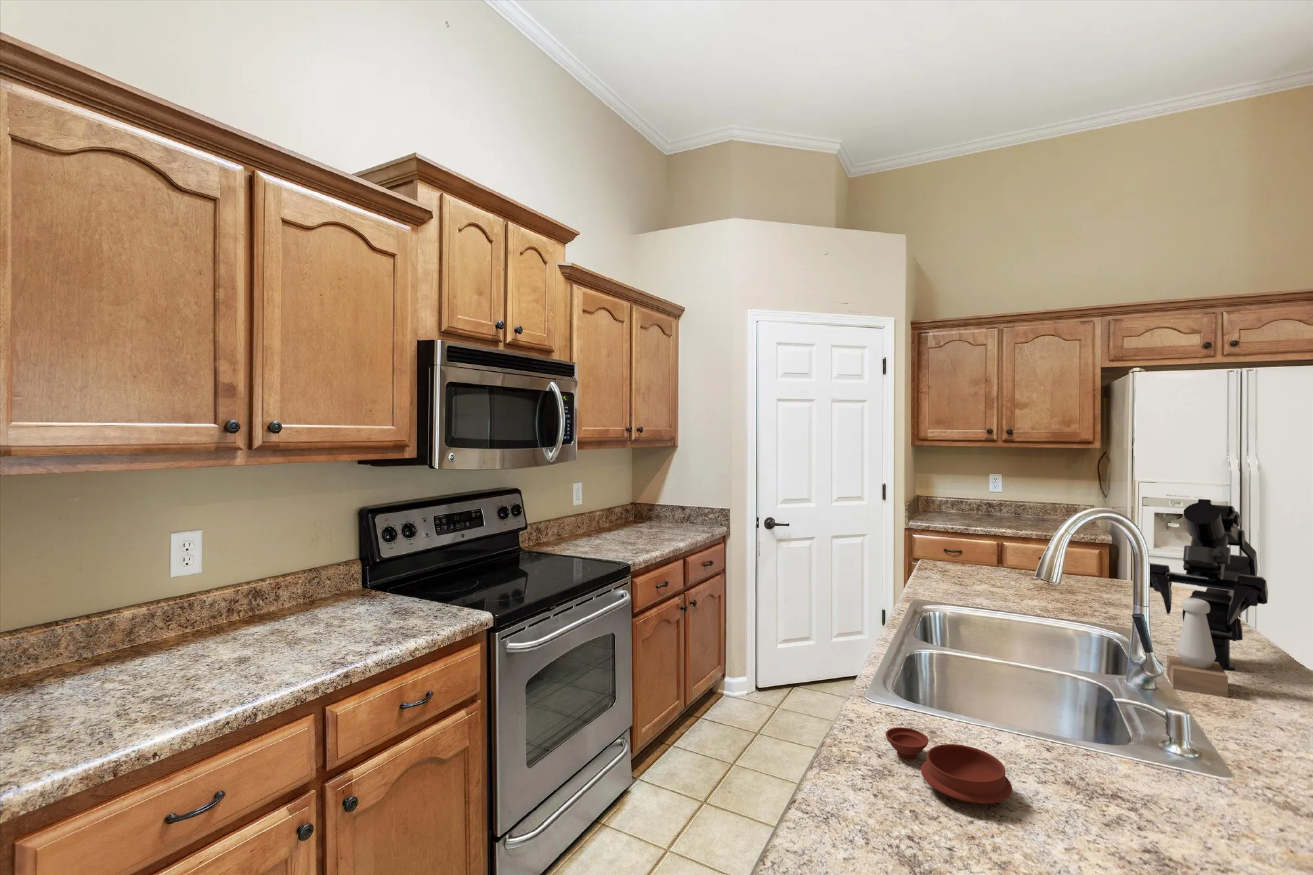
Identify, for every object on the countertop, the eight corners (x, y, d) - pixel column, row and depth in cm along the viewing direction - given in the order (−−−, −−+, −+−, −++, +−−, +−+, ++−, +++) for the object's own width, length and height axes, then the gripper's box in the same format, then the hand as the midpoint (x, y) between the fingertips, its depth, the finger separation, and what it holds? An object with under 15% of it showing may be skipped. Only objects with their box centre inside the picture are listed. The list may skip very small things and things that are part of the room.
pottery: (971, 826, 82) (971, 793, 82) (864, 754, 100) (863, 727, 100) (1031, 803, 87) (1031, 772, 87) (918, 738, 105) (918, 712, 105)
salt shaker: (1207, 661, 125) (1207, 596, 124) (1221, 672, 119) (1221, 604, 119) (1171, 658, 127) (1171, 594, 126) (1183, 668, 121) (1183, 602, 121)
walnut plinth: (1166, 674, 128) (1166, 655, 128) (1218, 682, 124) (1218, 662, 124) (1173, 688, 122) (1173, 668, 122) (1228, 697, 117) (1227, 676, 117)
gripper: (1145, 525, 134) (1131, 585, 127) (1266, 535, 120) (1258, 604, 113) (1153, 556, 139) (1141, 616, 132) (1271, 569, 125) (1264, 637, 118)
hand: (1197, 617), depth 124 cm, fingers open, 9 cm apart
